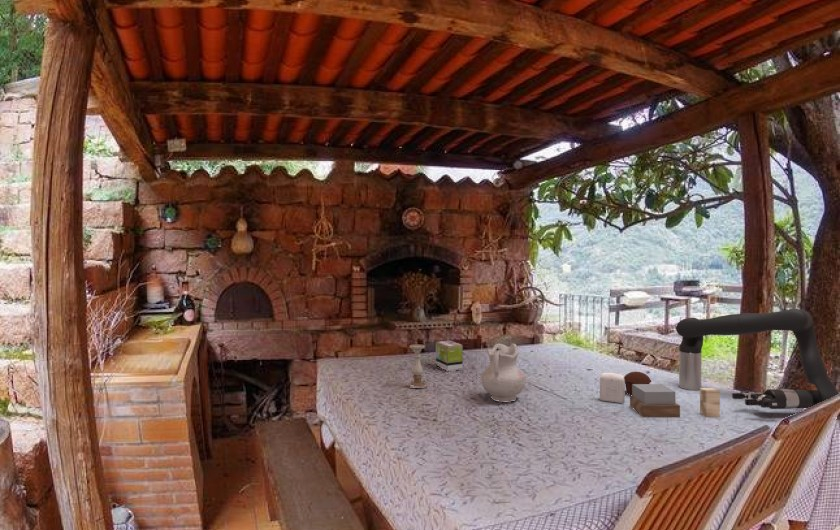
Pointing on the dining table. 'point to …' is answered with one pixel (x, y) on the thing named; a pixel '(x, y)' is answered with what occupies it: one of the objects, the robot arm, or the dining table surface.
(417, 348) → the candle holder
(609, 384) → the photo printer
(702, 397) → the birch pillar block
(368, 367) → the dining table surface
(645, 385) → the slate top block
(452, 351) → the tea box
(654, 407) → the walnut base block
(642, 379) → the muffin
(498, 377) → the ceramic pitcher
